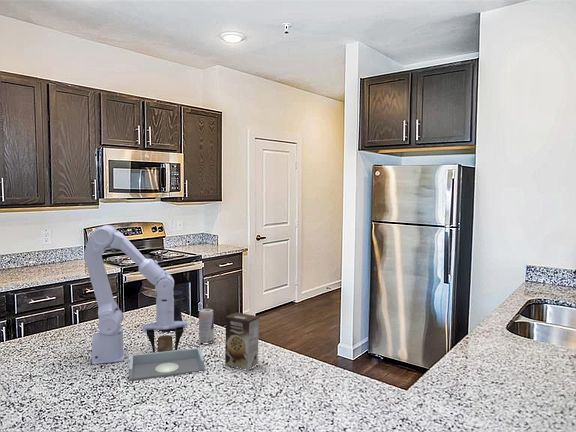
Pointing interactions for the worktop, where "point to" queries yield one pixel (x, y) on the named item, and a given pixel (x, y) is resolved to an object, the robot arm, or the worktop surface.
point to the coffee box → (241, 340)
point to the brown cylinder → (164, 343)
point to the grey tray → (165, 364)
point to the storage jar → (176, 308)
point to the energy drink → (206, 326)
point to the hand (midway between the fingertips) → (165, 350)
